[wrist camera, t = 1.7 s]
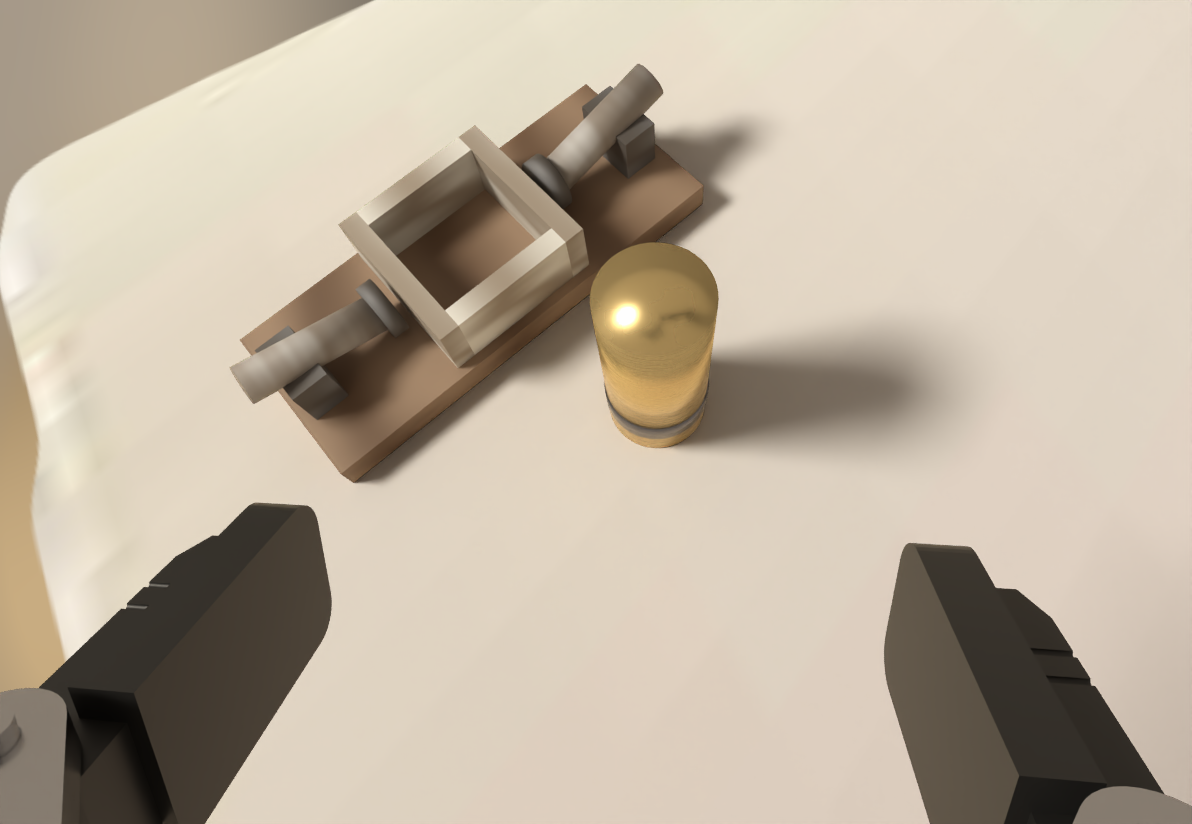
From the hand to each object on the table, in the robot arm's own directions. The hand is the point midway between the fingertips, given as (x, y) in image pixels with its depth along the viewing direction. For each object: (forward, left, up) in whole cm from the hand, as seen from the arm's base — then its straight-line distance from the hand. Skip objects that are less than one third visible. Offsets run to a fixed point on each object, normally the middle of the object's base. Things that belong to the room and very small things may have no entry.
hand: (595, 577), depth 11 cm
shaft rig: (-6, -19, -23) cm, 30 cm away
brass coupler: (-8, -8, -23) cm, 25 cm away
